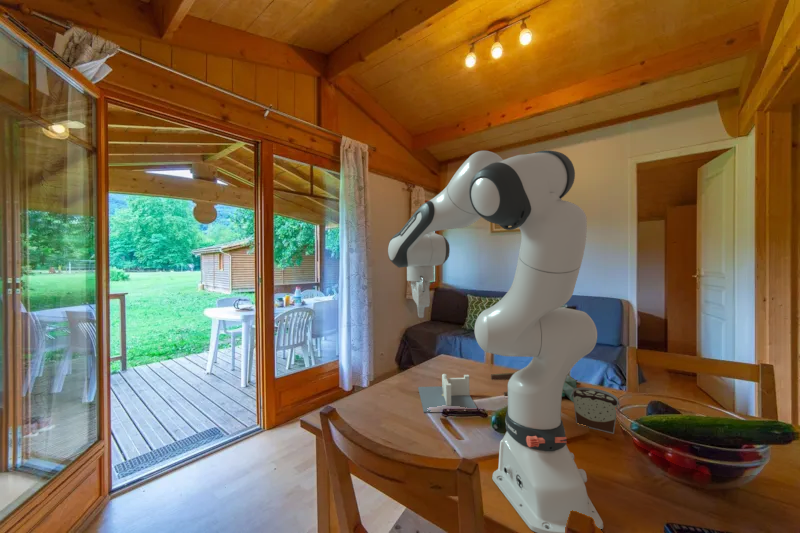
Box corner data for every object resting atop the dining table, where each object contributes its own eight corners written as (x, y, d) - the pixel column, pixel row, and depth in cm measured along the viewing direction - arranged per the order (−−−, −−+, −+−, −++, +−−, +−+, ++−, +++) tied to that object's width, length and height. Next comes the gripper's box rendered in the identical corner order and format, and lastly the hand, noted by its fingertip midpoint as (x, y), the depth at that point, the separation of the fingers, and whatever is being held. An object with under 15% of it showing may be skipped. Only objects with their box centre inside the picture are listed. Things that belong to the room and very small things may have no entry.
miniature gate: (488, 367, 136) (557, 361, 135) (489, 379, 136) (558, 374, 135) (508, 393, 109) (595, 386, 108) (509, 409, 109) (596, 402, 108)
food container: (620, 425, 93) (620, 392, 93) (620, 435, 88) (620, 400, 88) (572, 414, 100) (572, 383, 100) (570, 423, 95) (570, 390, 95)
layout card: (478, 411, 103) (478, 409, 103) (423, 413, 102) (423, 411, 102) (463, 387, 123) (463, 385, 123) (418, 388, 122) (418, 386, 122)
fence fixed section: (468, 393, 116) (468, 374, 116) (469, 395, 114) (469, 376, 114) (447, 394, 115) (447, 375, 115) (448, 395, 114) (448, 376, 114)
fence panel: (442, 393, 115) (441, 373, 115) (446, 393, 116) (446, 373, 115) (446, 406, 105) (446, 384, 105) (451, 406, 105) (451, 384, 105)
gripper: (434, 276, 93) (434, 323, 93) (426, 274, 114) (426, 311, 114) (413, 277, 93) (413, 323, 93) (408, 274, 113) (409, 312, 114)
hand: (420, 317), depth 104 cm, fingers closed
